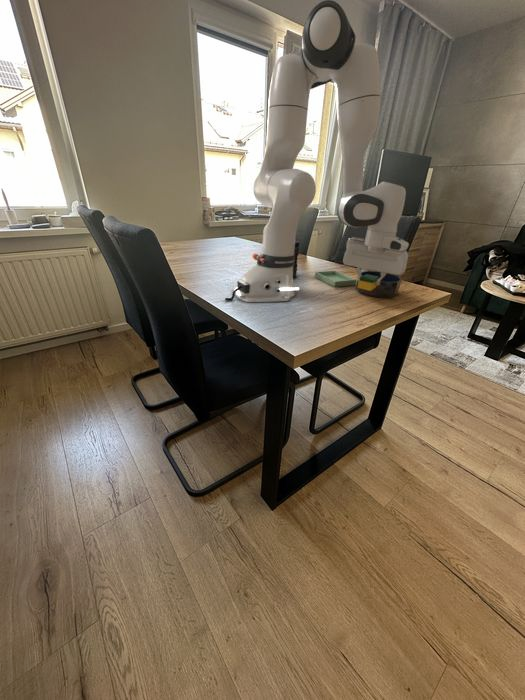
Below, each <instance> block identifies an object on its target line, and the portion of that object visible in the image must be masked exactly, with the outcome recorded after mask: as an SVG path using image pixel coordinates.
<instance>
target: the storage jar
mask: <svg viewBox="0 0 525 700" xmlns="http://www.w3.org/2000/svg"><path fill="white" fill-rule="evenodd" d="M299 251H300V240H298V239H296V240H295V248H294V254H295V262H294V269H293V280H294V279H295V278H297V273H298V257H299V253H300V252H299Z"/></svg>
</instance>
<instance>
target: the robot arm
mask: <svg viewBox="0 0 525 700" xmlns="http://www.w3.org/2000/svg"><path fill="white" fill-rule="evenodd" d="M301 35H302V36H301V47H300V48H299V50H298V51H296V52H294V53H286V54H284V55H281V56H280V57H278V59H277V60H276V61H275V63H274V66H273V69H272V74H271V81H270V86H269V95H268V107H267V108H268V109H267V128H266V141H265V142H266V143H265V148H264V149H265V150H264V154H263V157H262V162H261V166H260V170H259V173H258V175H257V176H256V178H255V179H254V183H253V187H252V189H253V196H254V197H255V199H256V201H257V202H258V203H260V204H261V205H263V206H264V207H266V208H269V209H271V212H270V217H269V220H268V222H267V223H266V224H265V226H264V228H263V231H262V252H261V253H260V254H258V253H253V254H252V256H251V258H252V259H253V260H255V261H256V264H255V265H253V266H252V267H251V268H250V269H249V270H248V271H246V272H245V273H244V274H242V276H241V279H240V280H236V281H237V287H235V288H234V290H233V291H232V294H231V297H225V298H224V300H225V301H228V302H229V301H233V300H234V299H235V297H236V298H237V299H239V300H240V301H243V302H245V303H271V302H288V301H290V299H291V298H293V297H294V296H295V294H296V293H295V291H299V290H300V287H294V279H293V269H294V262H295V254H294V248H295V240H297V239H296V238H297V231H298V228H299V225H300V222H301V219H302V217H303V214H304V213H305V211H306V210H307V209H308V208H309V207H310V205H311V204H312V203H313V202H314V199H315V197H316V192H317V191H316V190H317V188H316V187H317V186H316V185H317V184H316V182H315V179H314V177H313V176H312V175H311V173H309V172H307V171H304V170H302V169H299V168H294V167H295V163H296V160H297V158H298V156H299V154H300V153H301V151H302V150H303V148H304V146H305V142H306V133H307V121H308V112H309V111H308V110H309V100H310V99H309V98H310V93H311V90H313V89H315V88H318V87H321V86H324V85H326V84H328V83H331V82H333V84H334V86H335V91H336V114H337V115H336V117H337V118H336V119H337V129H338V136H339V142H340V149H341V156H342V191H341V195H340V198H339V201H338V204H337V206H336V207H337V208H336V216H337V218H338V220H339V222H340V223H341V224H342V225H344V226H347V227H352V228H355V229H356V228H363V227H367V230H366V234H365V237H357V236H352V237H350V238H348V239H347V241H346V246H345V248H346V250H345V251H344V255H343V259H342V263H343V265H344V266H348V267H349V266H350V267H355V268H356V269H355V270H356V274H357V279H356V282H357V281H359V279H360V277H362V276H363V275H362V274H361V270H362V268H364V269H369V270H374V271H377V272H381V274H380V275H382V276H381V277H380V278H379V279H376V280H375V285H380V282H381V279H382V278H383V277H384V276H385V275H386V273H390V274H393V275H396V276H401V275H404V274H405V272H406V269H407V267H408V265H407V264H408V260H409V253H408V251H407V250H408V248H409V247H410V244H409V242H408V241H406V240H405V239H403V238H400V237H398V236H397V233H398V224H399V221H400V219H401V218H402V215H403V212H404V207H405V201H406V195H407V190H406V188H405V186H403V185H402V184H400V183H398V182H394V181H389V180H384V181H382V182H380V183H379V184H377V185H375V186H373V187H371V188H368V189H365V190H363V189H364V188H363V185H364V184H363V183H364V164H365V163H364V162H365V156H366V152H367V150H368V147H369V145H370V143H371V141H372V139H373V137H374V135H375V133H376V131H377V129H378V124H379V118H380V111H381V99H382V98H381V97H382V96H381V94H382V93H381V92H382V91H381V90H382V87H381V86H382V85H381V84H382V82H381V69H380V60H379V53H378V50H377V48H376V47H375V46H374V45H373V44H371V43H358V44H356V39H357V38H356V33H355V31H354V29H353V27H352V25H351V23H350V21H349V18H348V16H347V14H346V12H345V10H344V9H343V7H342V6H341V5H340V4H339V3H338V1H334V0H322V1H320V2H319V3H317V4H316V5H315V6H314V7H313V8H312V9H311V10H310V12H309V14H308V15H307V17H306V20H305V22H304V26H303V29H302V34H301Z"/></svg>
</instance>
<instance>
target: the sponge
mask: <svg viewBox="0 0 525 700" xmlns="http://www.w3.org/2000/svg"><path fill="white" fill-rule="evenodd" d="M376 279H379V277H378V276H373V275H368V274H365V275H364V276H362V277H360V279H359V283H358V288H360V289H365V290H369V291H371V290H373V289H374V288H375V287H376V286H377V285H375V280H376Z"/></svg>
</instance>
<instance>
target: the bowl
mask: <svg viewBox="0 0 525 700" xmlns="http://www.w3.org/2000/svg"><path fill="white" fill-rule="evenodd" d="M361 274H362V275H363V276H364V275H365V274H368V275H373V276H378V277H379V278H380V277H381V276H382V275H380V274H381V272H379V271H364V272H361ZM402 281H403V279H402V277H401V276H400V275H395V274H390V273H386V275H385V276H384V277H383V278H382V279H381V282H380V285H377V286H376V287H375V288H374V289H373V290H371V291H369V290H365V289H360V288H358V283H359V281H357V280H356V285H355V289H356V290H357V292H359V293H360V294H362V295H366V296H369V297H374V298H380V299H381V298H382V299H385V298H386V299H387V298H388V299H389V298H394V297H395V296H397V295H398V294H399V291H400V288H401V284H402Z"/></svg>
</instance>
